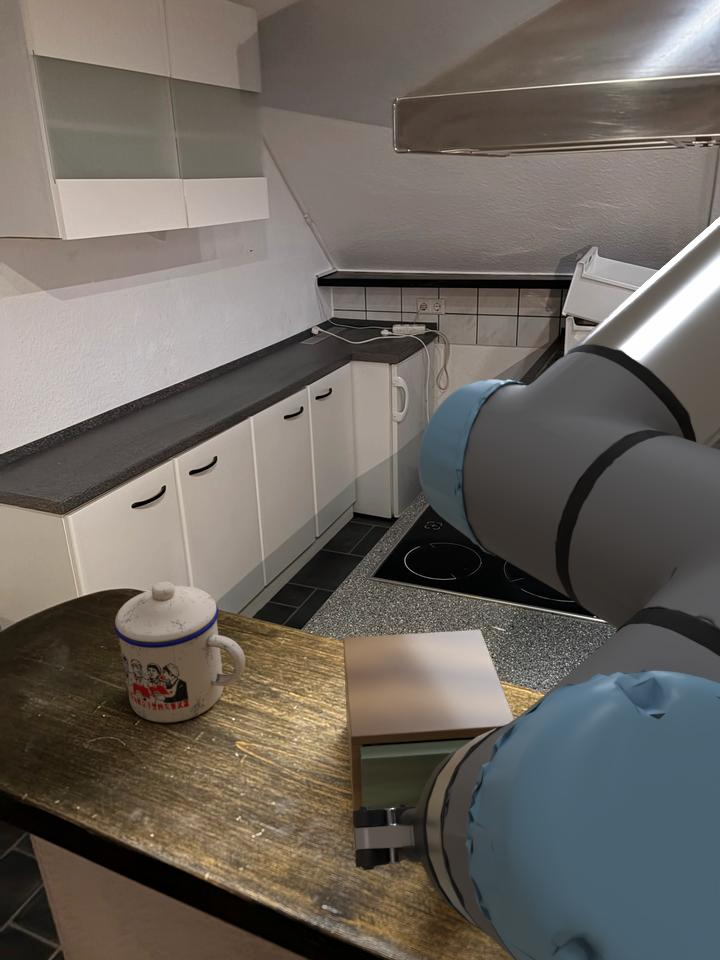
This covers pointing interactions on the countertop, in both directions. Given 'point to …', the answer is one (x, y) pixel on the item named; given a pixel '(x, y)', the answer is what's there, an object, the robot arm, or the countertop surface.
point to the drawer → (401, 770)
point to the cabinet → (419, 691)
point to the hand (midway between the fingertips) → (442, 823)
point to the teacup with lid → (174, 652)
